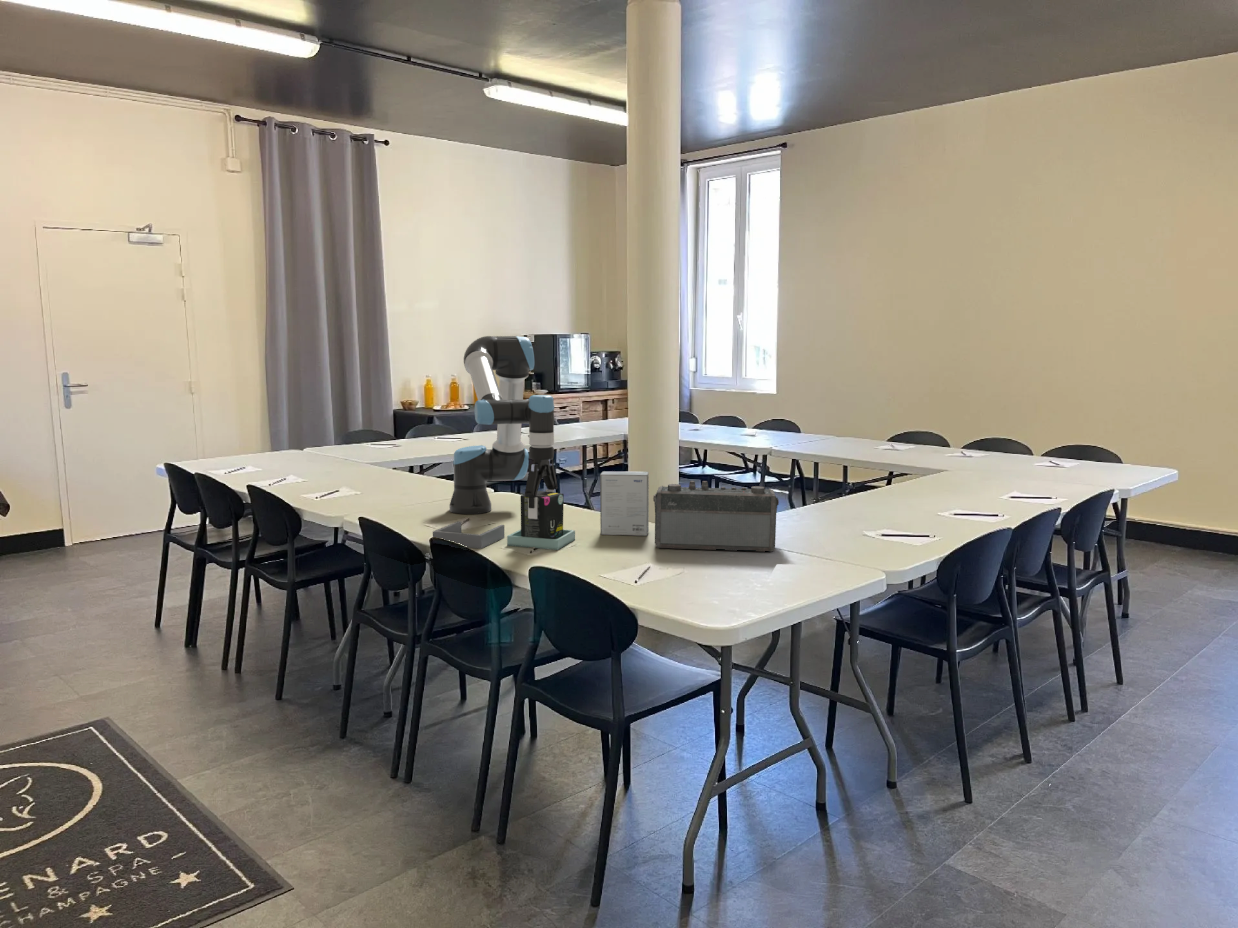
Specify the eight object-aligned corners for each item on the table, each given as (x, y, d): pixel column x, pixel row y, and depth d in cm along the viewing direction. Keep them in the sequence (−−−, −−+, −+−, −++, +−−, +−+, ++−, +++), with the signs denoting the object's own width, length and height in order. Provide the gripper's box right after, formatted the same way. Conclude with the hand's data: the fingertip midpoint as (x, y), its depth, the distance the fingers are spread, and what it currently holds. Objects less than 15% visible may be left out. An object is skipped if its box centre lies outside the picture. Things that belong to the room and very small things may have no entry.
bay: (458, 533, 287) (457, 521, 287) (504, 537, 282) (504, 525, 282) (432, 544, 272) (432, 531, 272) (481, 548, 267) (481, 535, 267)
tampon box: (544, 545, 269) (544, 498, 267) (519, 542, 274) (519, 495, 272) (564, 538, 279) (564, 492, 277) (539, 535, 283) (539, 490, 281)
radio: (651, 549, 269) (652, 484, 266) (654, 538, 283) (655, 476, 280) (778, 554, 265) (780, 487, 262) (774, 542, 279) (777, 480, 276)
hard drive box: (649, 531, 294) (649, 471, 291) (647, 536, 286) (648, 475, 283) (602, 529, 295) (602, 470, 292) (599, 534, 288) (599, 473, 285)
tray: (526, 535, 285) (526, 526, 285) (575, 539, 280) (575, 530, 280) (507, 545, 272) (507, 535, 271) (557, 550, 267) (557, 540, 266)
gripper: (545, 440, 285) (545, 506, 288) (513, 450, 261) (513, 521, 264) (567, 442, 282) (567, 507, 285) (536, 451, 259) (536, 523, 262)
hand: (541, 514), depth 275 cm, fingers open, 13 cm apart
